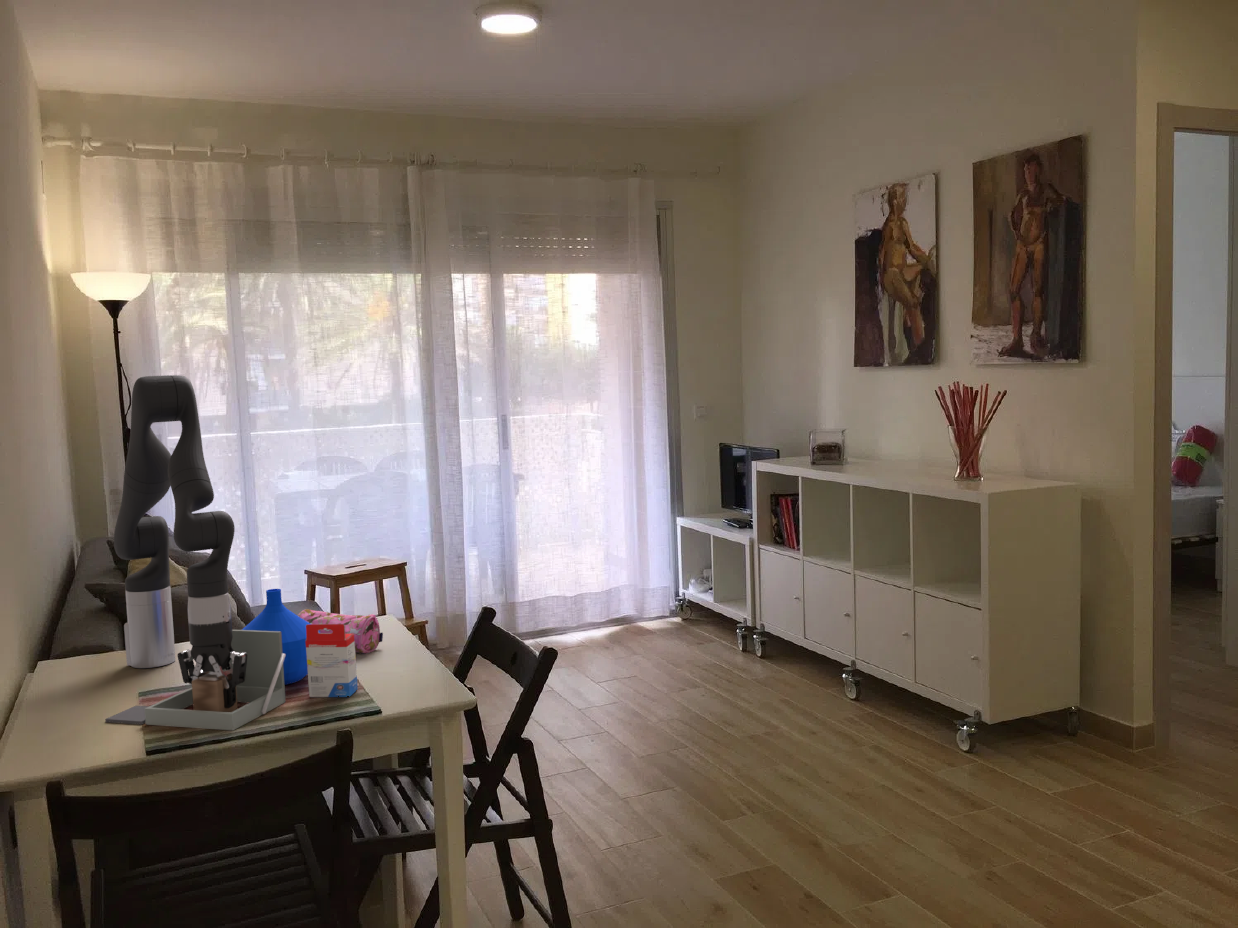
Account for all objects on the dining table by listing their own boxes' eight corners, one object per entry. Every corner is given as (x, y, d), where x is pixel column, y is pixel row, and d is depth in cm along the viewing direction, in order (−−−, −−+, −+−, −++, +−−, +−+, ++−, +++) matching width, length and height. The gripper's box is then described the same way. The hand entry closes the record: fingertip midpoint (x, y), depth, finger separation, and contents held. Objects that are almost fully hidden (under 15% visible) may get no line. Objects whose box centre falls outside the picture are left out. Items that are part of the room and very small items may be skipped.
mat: (105, 721, 191) (105, 718, 191) (136, 708, 198) (135, 705, 198) (141, 724, 189) (141, 721, 189) (171, 710, 196) (171, 707, 196)
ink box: (358, 690, 206) (354, 618, 205) (349, 697, 201) (345, 624, 200) (317, 690, 207) (313, 618, 206) (307, 697, 202) (303, 624, 201)
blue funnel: (215, 682, 214) (209, 592, 213) (294, 662, 228) (289, 578, 226) (261, 698, 202) (256, 603, 201) (341, 676, 216) (336, 587, 214)
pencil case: (387, 647, 240) (385, 610, 239) (362, 657, 231) (360, 619, 230) (313, 641, 248) (311, 605, 247) (287, 650, 239) (285, 613, 239)
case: (145, 724, 189) (140, 649, 188) (203, 697, 204) (199, 628, 203) (236, 730, 184) (232, 653, 182) (289, 702, 199) (285, 631, 198)
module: (194, 717, 192) (191, 678, 191) (212, 708, 197) (210, 670, 196) (219, 719, 190) (216, 679, 190) (237, 709, 196) (235, 671, 195)
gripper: (163, 621, 190) (169, 710, 192) (230, 623, 187) (236, 714, 188) (190, 612, 198) (196, 697, 199) (255, 614, 194) (260, 701, 195)
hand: (215, 705), depth 194 cm, fingers closed on module, 5 cm apart
